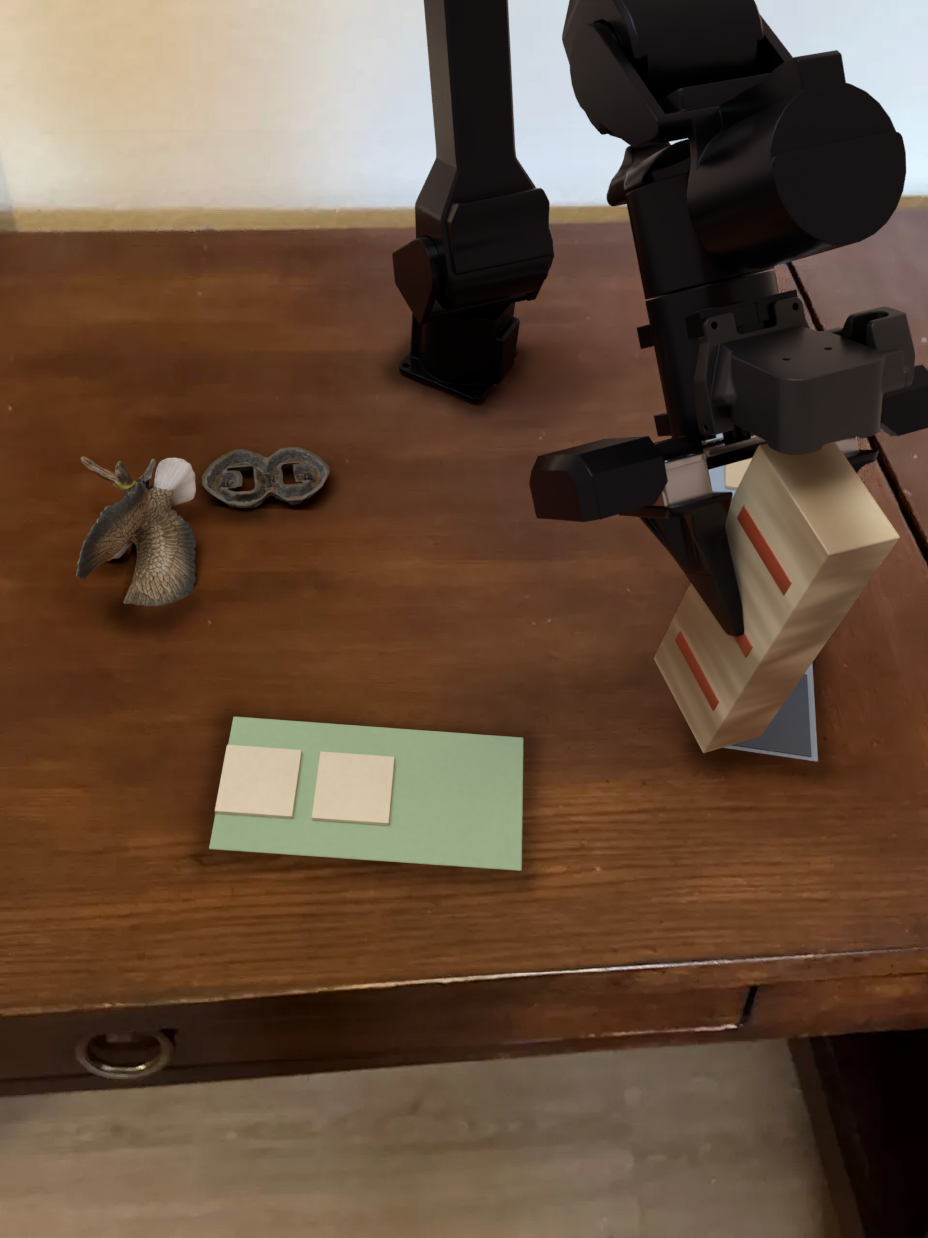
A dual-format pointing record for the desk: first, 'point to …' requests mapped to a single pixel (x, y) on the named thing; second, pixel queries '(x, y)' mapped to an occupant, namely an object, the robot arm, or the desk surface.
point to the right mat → (797, 715)
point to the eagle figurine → (146, 531)
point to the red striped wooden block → (775, 591)
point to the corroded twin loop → (265, 476)
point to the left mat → (371, 794)
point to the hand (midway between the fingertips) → (771, 623)
